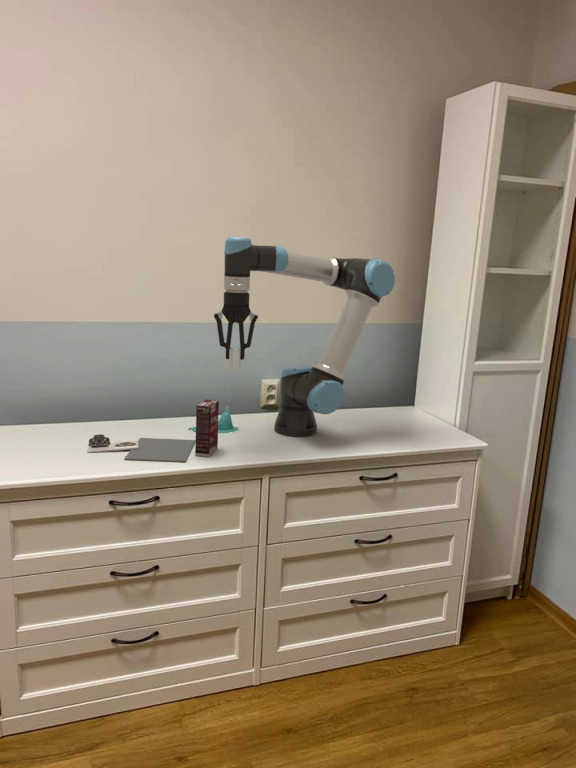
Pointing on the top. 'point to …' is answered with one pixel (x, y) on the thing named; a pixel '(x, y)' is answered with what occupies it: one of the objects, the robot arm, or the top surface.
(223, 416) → the diorama
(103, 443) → the car cutout
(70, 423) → the top surface
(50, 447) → the top surface
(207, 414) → the supplement box
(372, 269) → the robot arm
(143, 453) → the mat
